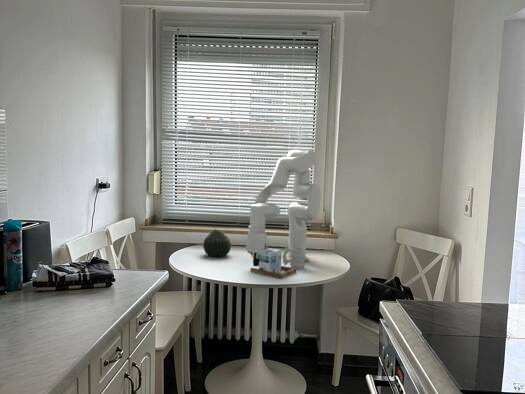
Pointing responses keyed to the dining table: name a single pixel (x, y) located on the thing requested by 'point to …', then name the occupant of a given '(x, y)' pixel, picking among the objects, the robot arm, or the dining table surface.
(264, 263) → the light bulb box
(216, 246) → the squash
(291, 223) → the robot arm
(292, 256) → the mug
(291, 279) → the dining table surface
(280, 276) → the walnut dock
